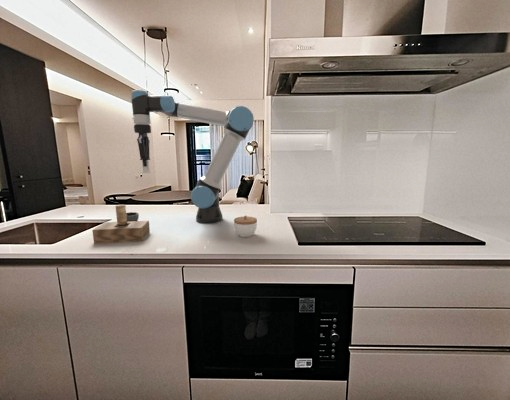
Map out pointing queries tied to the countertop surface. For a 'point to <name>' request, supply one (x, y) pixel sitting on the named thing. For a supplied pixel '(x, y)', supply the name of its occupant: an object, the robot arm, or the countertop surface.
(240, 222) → the lidded jar
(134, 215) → the mortar and pestle
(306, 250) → the countertop surface
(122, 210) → the dowel
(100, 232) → the socket block
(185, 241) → the countertop surface
